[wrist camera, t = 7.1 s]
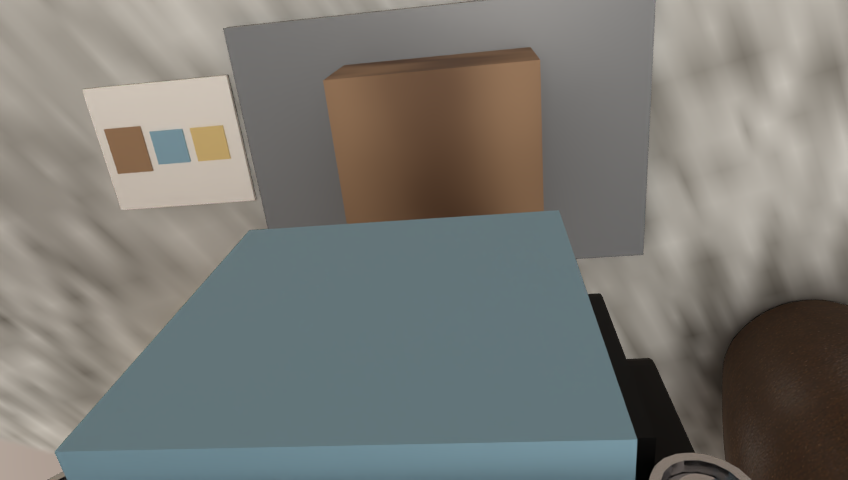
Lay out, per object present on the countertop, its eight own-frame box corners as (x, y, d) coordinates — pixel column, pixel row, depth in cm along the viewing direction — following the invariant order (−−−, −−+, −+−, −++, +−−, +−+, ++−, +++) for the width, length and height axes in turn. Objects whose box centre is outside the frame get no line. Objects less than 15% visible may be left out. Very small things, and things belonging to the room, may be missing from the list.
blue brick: (249, 230, 12) (54, 451, 6) (559, 210, 11) (638, 439, 6) (304, 462, 14) (196, 768, 9) (561, 457, 14) (619, 786, 8)
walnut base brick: (369, 233, 29) (354, 271, 26) (344, 65, 26) (322, 80, 22) (535, 223, 28) (545, 260, 25) (530, 47, 25) (540, 59, 22)
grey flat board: (282, 270, 31) (278, 276, 31) (228, 27, 26) (223, 28, 26) (639, 249, 29) (643, 254, 29) (652, -19, 24) (656, -18, 24)
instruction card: (123, 208, 30) (120, 211, 30) (84, 88, 28) (80, 89, 28) (256, 199, 30) (254, 201, 29) (228, 74, 27) (225, 75, 27)
